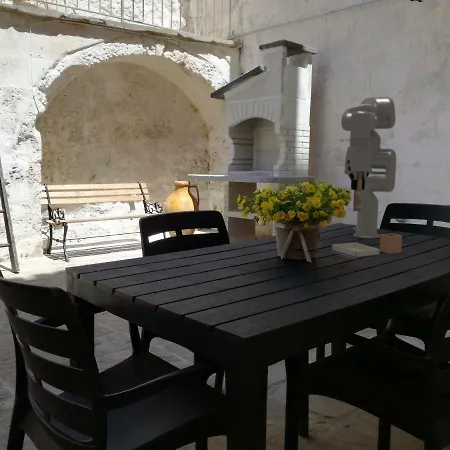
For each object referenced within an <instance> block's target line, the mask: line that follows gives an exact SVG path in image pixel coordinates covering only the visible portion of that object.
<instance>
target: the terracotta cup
mask: <svg viewBox="0 0 450 450" xmlns="http://www.w3.org/2000/svg"><path fill="white" fill-rule="evenodd" d="M402 247H403V235H401V234H398V233H381V234H380V237H379V249H380V253H384V254H388V255H392V254H401V253H402Z"/></svg>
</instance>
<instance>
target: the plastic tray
mask: <svg viewBox="0 0 450 450" xmlns="http://www.w3.org/2000/svg"><path fill="white" fill-rule="evenodd" d="M331 253H334V254H338V255H341V256H345V257H347V258H350V259H352V260H353V259H354V260H359V258H357V257H367V256H375V255H377V256H378V255H381V251H380V248H378V247H377V248H376V247H373V246H370V245H366V244H362V243H359V242H346V243H345V242H343V243H333V244H331Z"/></svg>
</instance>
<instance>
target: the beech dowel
mask: <svg viewBox="0 0 450 450" xmlns="http://www.w3.org/2000/svg"><path fill="white" fill-rule="evenodd" d="M356 180H357V181H358V183H357V190H353V202H352V204H353V205H352V207H353V208H352V211H353V212H358V211H361V194H362V172H357V178H356Z"/></svg>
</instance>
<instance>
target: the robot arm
mask: <svg viewBox="0 0 450 450" xmlns="http://www.w3.org/2000/svg"><path fill="white" fill-rule="evenodd" d="M340 123H341V128H342V130H344V131H346V132H349V133H350V135H349V146H348V147H347V150H346V155H345V160H344V171H343V173H344V174H345V175H346V176H348V177H349V180H350V190H351V191H354V190H357V183H358V181H357V180H356V178H357V172H362V194H361V211H356V212H357V213H356V216H357V218H356V226H354V227H353V228H352V229H353V230H354V231H355V232H354V233H353V234H352V235H353V237H355V238H358V239H359V238H360V239H380V234H379V233H378V217H379V215H378V214H379V199H378V197H377V196H376V195H375V192H376V193H377V192H380V193H381V192H382V193H390V192H392V191H394V189H395V187H396V174H397V173H396V172H397V171H396V170H397V154H396V151H395V150H394V149H392V148H381V144H382V143H381V140H382V139H381V136H380V134H379V133H378V132H377V131H376V130H377V129H378V130H380V129H381V130H390V129H392V128H394V126H395V125H396V106H395V102H394V100H393V99H392V98H391V97H390V96H389V97H388V96H383V97H382V96H380V97H379V96H375V97H374V96H373V97H366V98H364V99H363V100H362V101H361V103H360V104H359V105H356V106H353V107H350V108H347V109H346V110H344V112H343V114H342V116H341V122H340ZM376 169H377V170H378V169H379V170H381V169H382V170H385V171H373V170H376Z"/></svg>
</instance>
